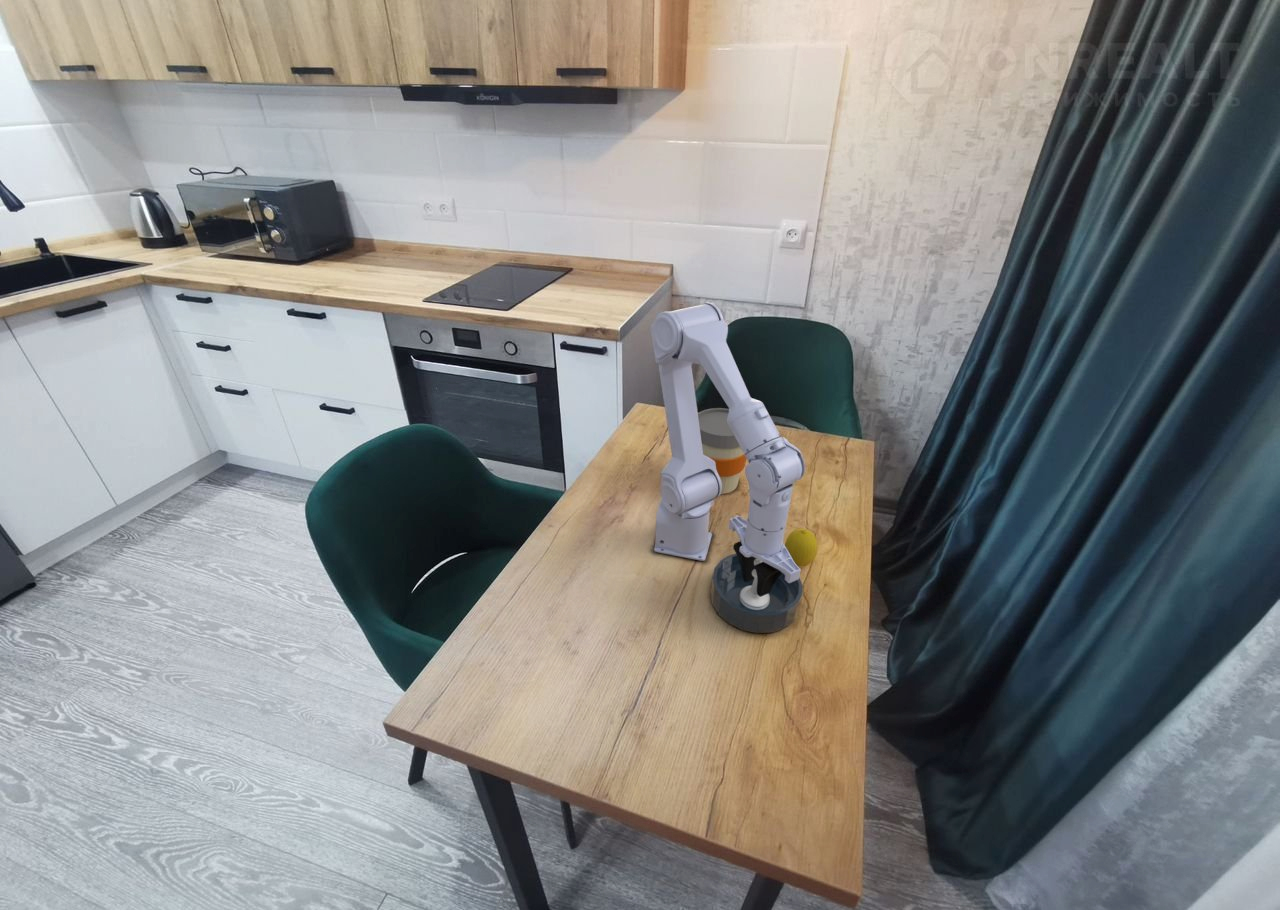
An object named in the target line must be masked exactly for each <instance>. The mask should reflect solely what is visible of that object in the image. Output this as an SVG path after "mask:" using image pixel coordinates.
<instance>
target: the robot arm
mask: <svg viewBox="0 0 1280 910" xmlns="http://www.w3.org/2000/svg"><path fill="white" fill-rule="evenodd" d="M650 333H651V334H650V335H651V339H652V340H651V341H652V346H653V347H652V348H653V353H654V359H655V360H654V361H655V364H657V365H658V372H659V378H660V385H661V392H662V398H663V404H664V405H663V406H664V411H665V419H666V424H667V431H668V439H669V444H670V451H671V458H670V459H669V461H668V462H667V463H666V465H665V466H664V468H663V469H662V470H661V472H660V478H661V485H660V491H659V493H660V501H659V504H658V507H657V511H656V517H655V538H654V539H655V541H654V549H653V550H654V552H655V553H659V554H663V555H664V554H665V555H670V556H676V557H680V558H684V559H691V560H694V561H695V560H696V561H701V562H704V561H705V562H706V558H707V555H708V551H709V548H710V544H711V540H712V537H713V533H712V532H711V531H709V525H710V515H711V507H712V506H714V504H715V499H718V498H719V497H720V496H721V495H722V494H721V492H722V483H721V479H720V477H719V475H718V473H717V470H716V464H715V461H713V460H712V459H711V458H709V457H707V456H705V455H703V450H702V442H701V435H700V427H699V419H698V413H699V412H698V406H697V397H696V390H695V382H694V374H693V368H692V367H693V364H696V365H701V366H702V368H703V369H704V371H705V372H706V374H707V376H708V377H709V379H710V380H711V383H712V384H713V385H714V387H715V389H716V390H717V392H718V393H719V395H720V396H721V398H722V400H723V401H724V402H725V404H726V406H727V407H728V409H729V413H728V417H727V422H728V424H729V426H730V428H731V430H732V432H733V434H734V436H735V438H736V439H737V441H738V443H739V445H740V447H741V449H742V451H743V453H744V455H745V457H746V461H747V463H748V464H747V465H745V467H744V473H745V478H746V481H747V482H748V494H749V498H750V499H749V506H748V513H747V519H745V518H743V517H742V516H741V515H737V516H734V517H731V518H729V521H728V522H729V524H728V529H729V530H730V531H731V532H735V533H736V536H737V537H738V539H739V541H737V542H735V543H734V544H733V546H732V547H733V548H732V549H733V551H734V552H735V553H736V554H737V556H738V559H739V562H740V565H741V570H742V575H743V580H744V581H745V582H748V581H751V580H753V579H754V578H755V577H753V576H752V571H753V570H754V569H755V570H756V573H757V580H758V583H757V594H758V595H759V596H760V597H762V596H764V595H766V594H768V593H770V591H771V589H772V587H773V585H774V584H775V582H776V581H777V579H778V578H779V577H780V576H781V575H782V574H784V575H785V580H786V581H787V582H788V583H791V582H794V581H796V580H798V579H799V577H800V576H801V571H802V569H801V567H800V566H797V565H796V564H795V562H794V561H793V559H792V557H791V555H790V554H789V552H788V550H787V548H786V547H785V542H784V539H785V534H786V530H787V529H786V528H787V522H788V517H789V511H790V506H791V501H792V500H791V499H792V496H793V491H794V484H795V483H797V482H798V481H799V480H802V478H803V477H804V476H805V473H806V463H805V459H804V457H803V454H802V452H801V451H800V449H799V448H798V447H796V445H794V444H792V443H790V442H789V440H788V439H787V438H786V437H785V436H781V433H780V432H779V430H778V428H777V427H776V424H775V423H774V421H773V419H772V418H771V415H770V414H769V412H768V409H767V408H766V406H765V404H764V402H763V401H761V400H758V399H756V398H752V397H751V395H750V393H749V390H748V388H747V386H746V383H745V381H744V379H743V377H742V374H741V372H740V371H739V368H738V365H737V364H736V363H737V362H736V361H735V359H734V356H733V354H732V352H731V349H730V347H729V345H728V343H727V339H728V333H729V326H728V324H727V322H726V321H725V320H724V316H723V313H722V311H721V310H720V307H718V306H717V305H716V304H715V303H713V302H704V303H702V304H698V305H694V306H689V307H685V308H681V309H675V310H672V311H662V312H659V314H658V313H657V315H656V317H655V319H654V320H653V322H652V324H651V325H650ZM755 559H759V560H761V561H763V562H761V563H759V564H757V565H755V566H754V560H755Z"/></svg>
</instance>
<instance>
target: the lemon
mask: <svg viewBox="0 0 1280 910" xmlns="http://www.w3.org/2000/svg"><path fill="white" fill-rule="evenodd" d="M784 545H785V547H786V548H787V550H788V552H789V554H790V555H791V557H792V559H793V561H794V562H795V564H796V565H797V566H798V567H799V568H801V567H806V566H809V565H810V564H812V563H813V562H814V561H815V560H816V559H815V558H816V556H817V554H818V540H817V537H816V535H815V534H814V533H813V532H812V531H810V530H809V529H807V528H797V529H793V530H792V531H791V532H790V533H789V534H788V536H787V537H786V540H785V542H784Z"/></svg>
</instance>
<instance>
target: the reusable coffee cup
mask: <svg viewBox="0 0 1280 910" xmlns="http://www.w3.org/2000/svg"><path fill="white" fill-rule="evenodd" d="M728 413H729V408H725V407H724V408H722V407H714V408H708V409H704V410H701V411H699V412H698V419H699V427H700V435H701V442H702V450H703V455H705V456H707V457H709V458H711V459H712V460H713V461H715V464H716V470H717V473H718V475H719V477H720V479H721V483H722V492H721V494H720V495H724V494H728V493H731V492H733V491H735V489H737V488H738V484H739V480H740V477H741V473H742V471H744V470H745V466H746V462H747V459H746V457H745V455H744V453H743V451H742V449H741V447H740V445H739V443H738V441H737V439H736V438H735V436H734V434H733V432H732V430H731V428H730V426H729V424H728V422H727V417H728Z"/></svg>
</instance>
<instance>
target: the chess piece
mask: <svg viewBox="0 0 1280 910" xmlns="http://www.w3.org/2000/svg"><path fill="white" fill-rule="evenodd" d="M761 562H763V561H761V560H759V559H755V560H754V566H755V565H757V564H759V563H761ZM752 576H753V577H755V578H754V581H753V584H752V585H750V586H746V587H744V588H743V589H742V590H741V593H740V596H739V598H740V601H741V603H742V604H743V605H744V606H746V607H747V608H750V609H753V610H761V609H764V608H766V607H767V606H768V605H769V603H770V596H769V594H766V595H764V596H762V597H760V596H759V595H758V594H757V583H758V580H757V573H756V570H755V569H754V570H753V571H752Z"/></svg>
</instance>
